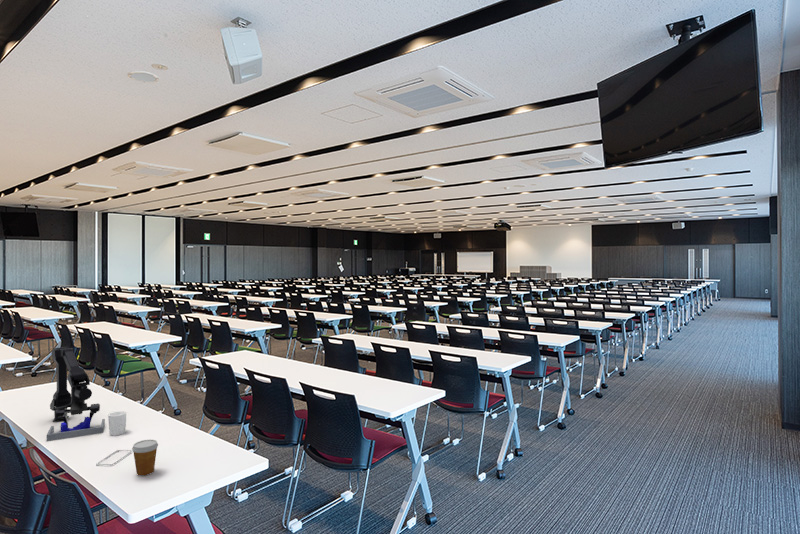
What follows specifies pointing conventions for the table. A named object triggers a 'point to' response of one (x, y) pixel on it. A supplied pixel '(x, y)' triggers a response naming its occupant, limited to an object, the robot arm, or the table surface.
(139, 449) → the disposable coffee cup
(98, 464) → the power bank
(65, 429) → the blue v notch block
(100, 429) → the box
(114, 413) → the white cup
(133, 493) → the table surface
